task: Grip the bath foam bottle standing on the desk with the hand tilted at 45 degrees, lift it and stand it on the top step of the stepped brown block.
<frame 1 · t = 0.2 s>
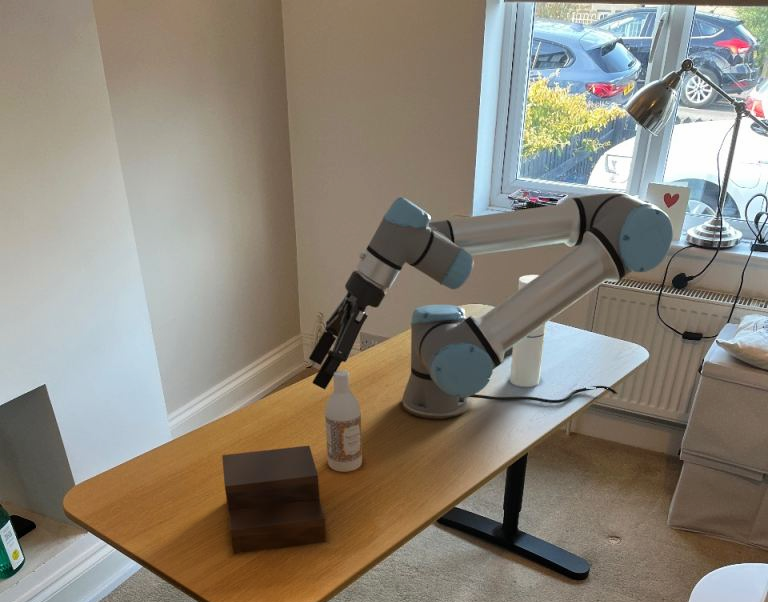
hand: (316, 373, 153), 17 cm above the table, tool tilted 35°, fingers open, 13 cm apart
bath foam: (345, 465, 155), on the table
cylindrical container: (524, 381, 188), on the table
media streaming box: (484, 349, 206), on the table
stepped brown block: (275, 520, 139), on the table
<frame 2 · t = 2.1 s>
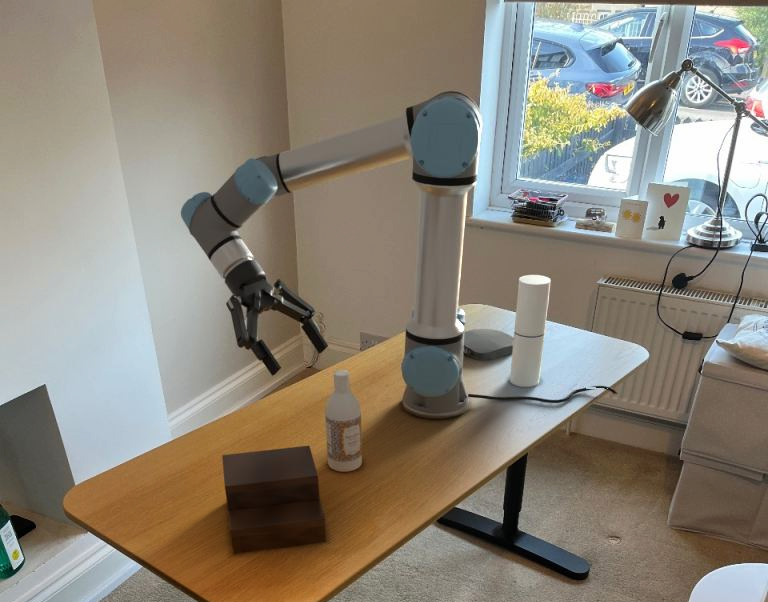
hand: (301, 360, 150), 20 cm above the table, tool tilted 45°, fingers open, 13 cm apart
nothing on the table moved.
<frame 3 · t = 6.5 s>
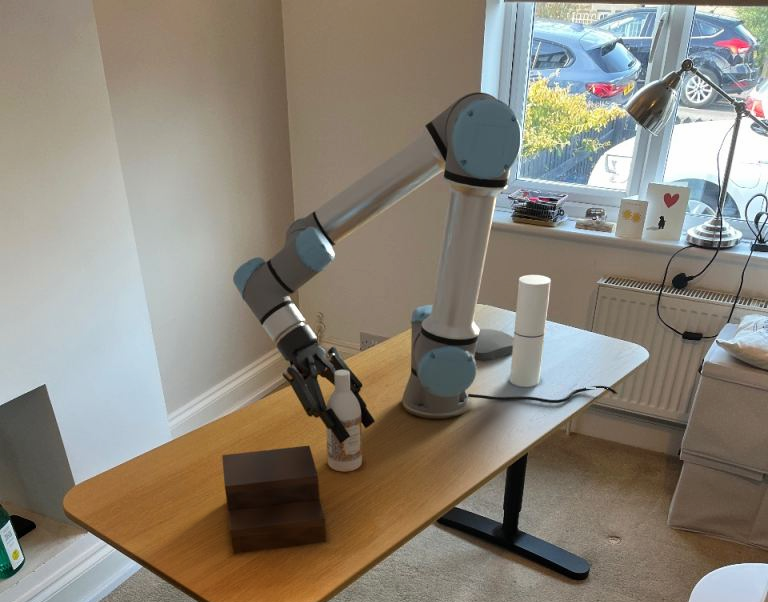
hand: (358, 432, 149), 9 cm above the table, tool tilted 45°, fingers closed on bath foam, 7 cm apart
bath foam: (345, 464, 155), on the table, touching gripper
everything else where it was.
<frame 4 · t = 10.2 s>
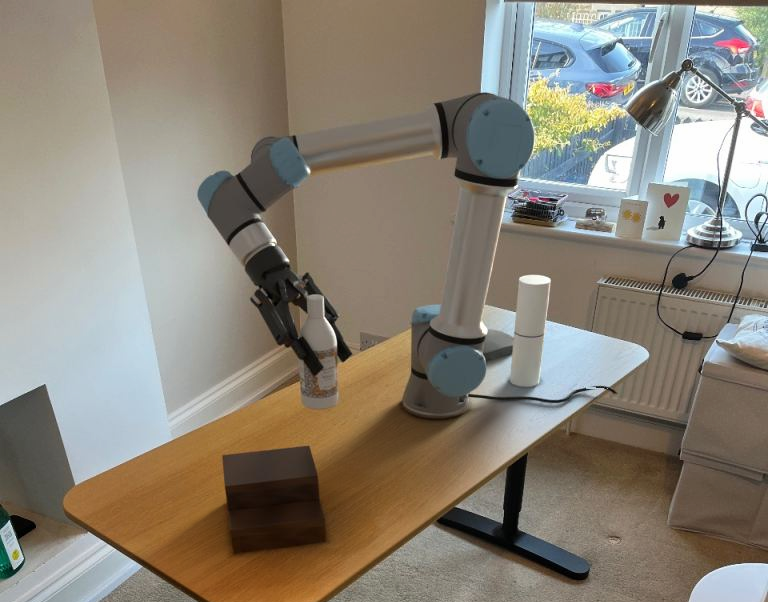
hand: (333, 364, 136), 25 cm above the table, tool tilted 45°, fingers closed on bath foam, 7 cm apart
bath foam: (320, 403, 142), point 16 cm above the table, touching gripper
everything else where it was.
when the fingers open (18 cm above the table, at t = 14.2 s): bath foam stays where it is, resting on stepped brown block.
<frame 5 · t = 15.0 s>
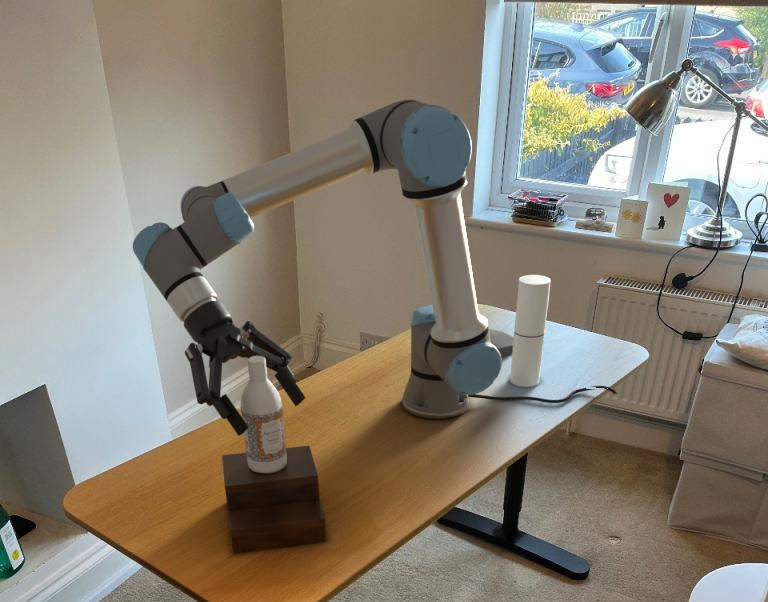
hand: (273, 416, 129), 20 cm above the table, tool tilted 45°, fingers open, 13 cm apart
bath foam: (267, 465, 136), point 10 cm above the table, touching stepped brown block
everything else where it was.
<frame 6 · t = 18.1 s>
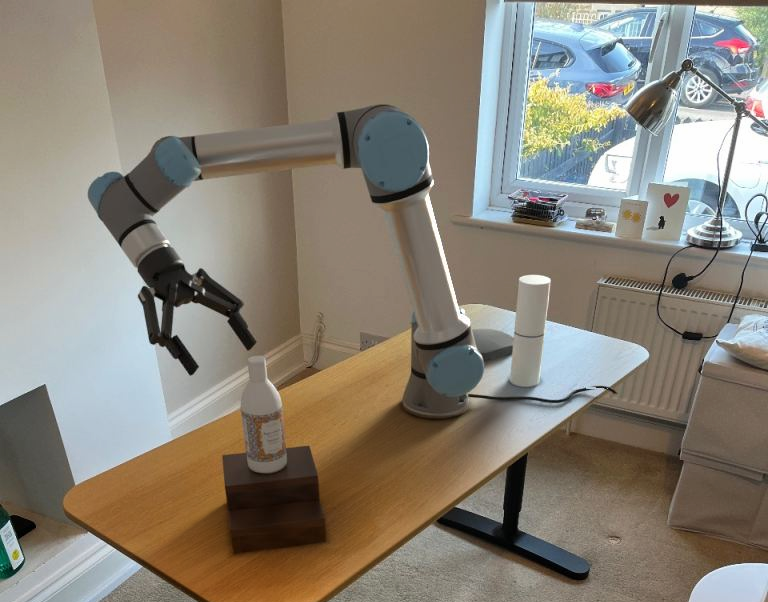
hand: (224, 358, 134), 26 cm above the table, tool tilted 45°, fingers open, 13 cm apart
nothing on the table moved.
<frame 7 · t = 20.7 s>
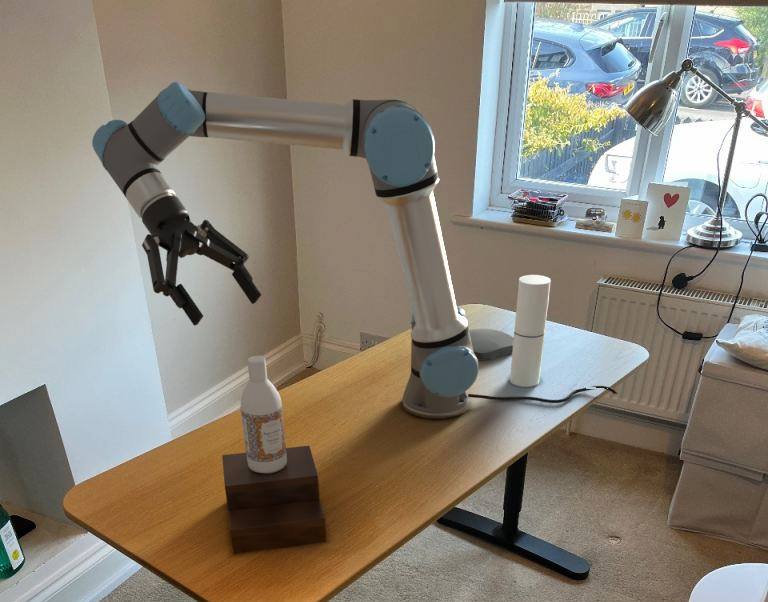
hand: (228, 310, 133), 34 cm above the table, tool tilted 45°, fingers open, 13 cm apart
nothing on the table moved.
at the end: bath foam inside the target area on the stepped brown block (0.2 cm from its centre), point 9.8 cm above the stepped brown block's base; bath foam tilted 0°; the gripper is holding nothing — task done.
